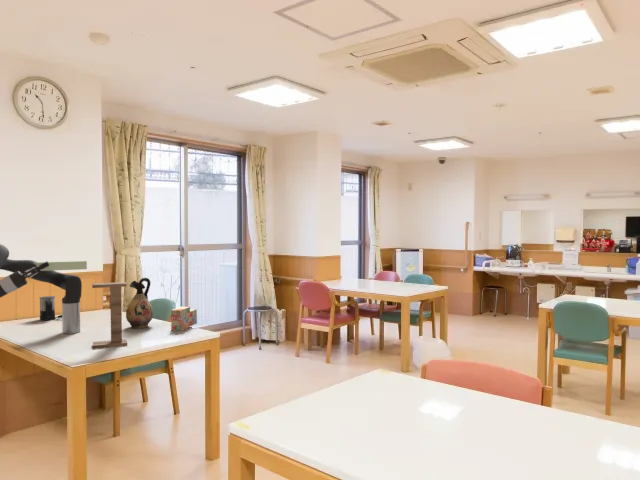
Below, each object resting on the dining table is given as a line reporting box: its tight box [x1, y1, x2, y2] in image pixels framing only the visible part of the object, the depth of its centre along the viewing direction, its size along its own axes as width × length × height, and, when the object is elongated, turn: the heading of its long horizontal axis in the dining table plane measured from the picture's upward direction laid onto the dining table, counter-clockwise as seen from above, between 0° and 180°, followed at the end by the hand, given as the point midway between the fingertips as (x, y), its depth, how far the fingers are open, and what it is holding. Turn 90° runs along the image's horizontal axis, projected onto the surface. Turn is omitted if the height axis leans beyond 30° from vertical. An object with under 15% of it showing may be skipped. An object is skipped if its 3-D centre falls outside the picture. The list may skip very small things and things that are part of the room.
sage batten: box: [36, 260, 88, 271], centre depth 246 cm, size 3×22×4 cm, turn 115°
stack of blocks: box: [170, 306, 198, 332], centre depth 302 cm, size 21×6×12 cm, turn 168°
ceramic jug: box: [125, 277, 154, 329], centre depth 302 cm, size 17×15×30 cm
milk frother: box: [39, 295, 62, 321], centre depth 326 cm, size 14×16×15 cm
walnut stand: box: [91, 281, 128, 350], centre depth 256 cm, size 9×16×32 cm, turn 115°
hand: (48, 263), depth 244 cm, fingers closed on sage batten, 3 cm apart
